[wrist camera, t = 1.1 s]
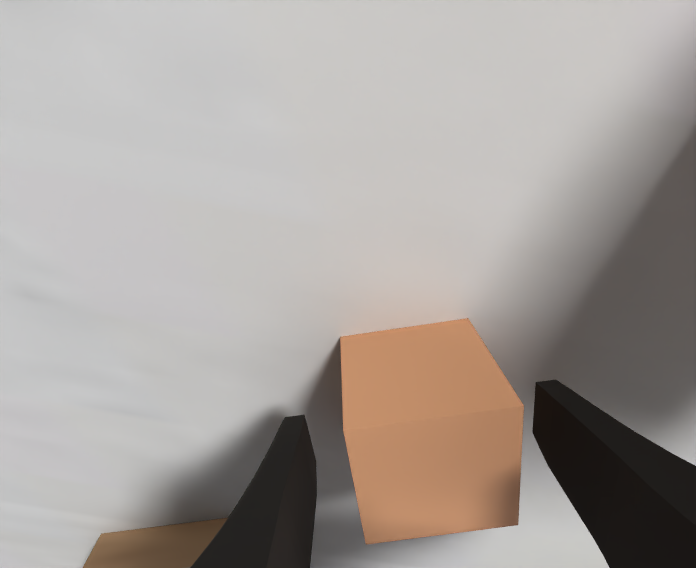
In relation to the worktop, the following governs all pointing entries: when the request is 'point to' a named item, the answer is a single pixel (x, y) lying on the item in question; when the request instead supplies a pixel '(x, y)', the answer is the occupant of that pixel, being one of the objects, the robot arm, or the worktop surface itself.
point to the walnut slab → (154, 546)
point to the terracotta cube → (430, 432)
